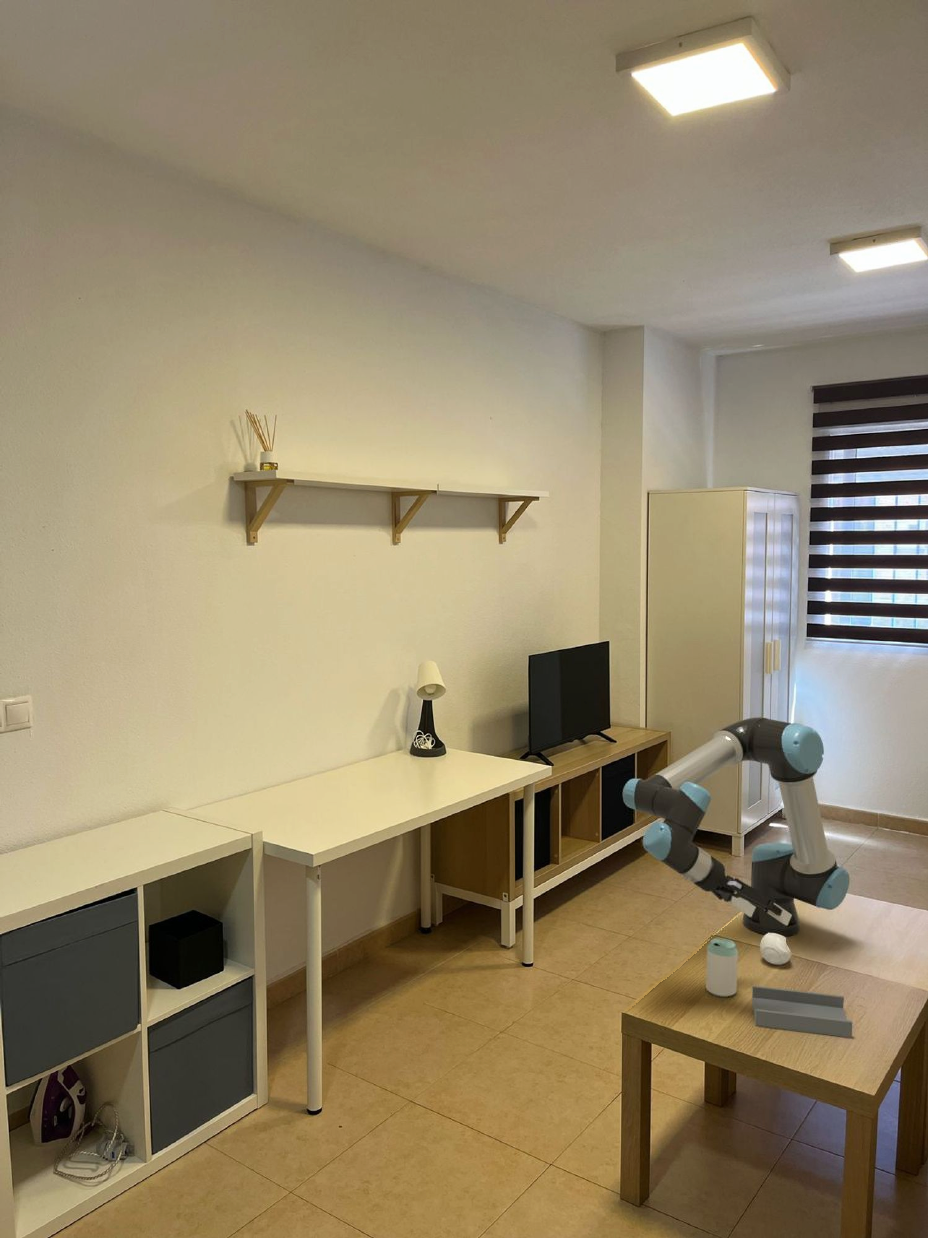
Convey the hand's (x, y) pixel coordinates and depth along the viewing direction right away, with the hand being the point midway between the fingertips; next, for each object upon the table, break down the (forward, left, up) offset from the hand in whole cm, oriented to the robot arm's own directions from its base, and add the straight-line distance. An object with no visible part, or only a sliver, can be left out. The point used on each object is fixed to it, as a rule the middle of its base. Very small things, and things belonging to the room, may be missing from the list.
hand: (770, 916), depth 224 cm
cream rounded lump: (-19, +3, -20) cm, 28 cm away
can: (+1, -11, -20) cm, 22 cm away
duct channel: (+9, +6, -20) cm, 23 cm away
